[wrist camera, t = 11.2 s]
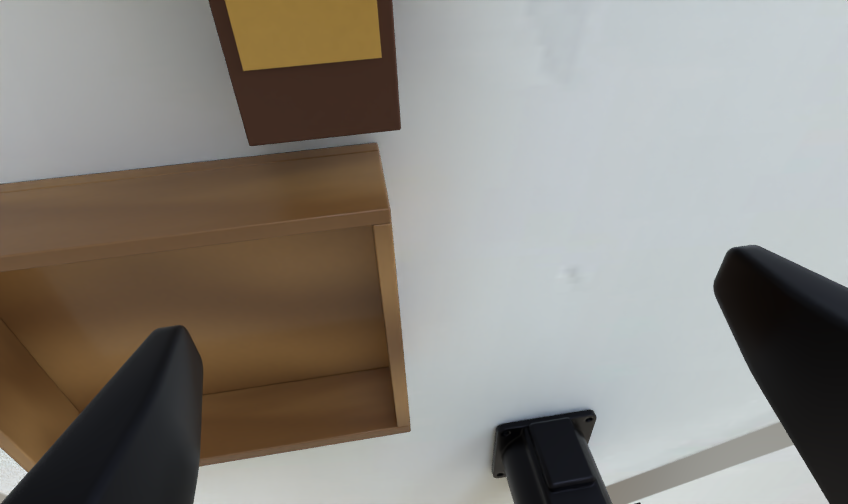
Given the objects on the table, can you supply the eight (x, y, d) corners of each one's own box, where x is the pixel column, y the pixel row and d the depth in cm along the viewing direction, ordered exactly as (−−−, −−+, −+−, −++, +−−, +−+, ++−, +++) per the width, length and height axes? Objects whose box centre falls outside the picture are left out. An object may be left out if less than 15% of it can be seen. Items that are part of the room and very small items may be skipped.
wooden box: (399, 361, 28) (411, 432, 25) (77, 411, 27) (48, 492, 24) (377, 141, 20) (390, 208, 17) (-105, 194, 18) (-187, 279, 15)
